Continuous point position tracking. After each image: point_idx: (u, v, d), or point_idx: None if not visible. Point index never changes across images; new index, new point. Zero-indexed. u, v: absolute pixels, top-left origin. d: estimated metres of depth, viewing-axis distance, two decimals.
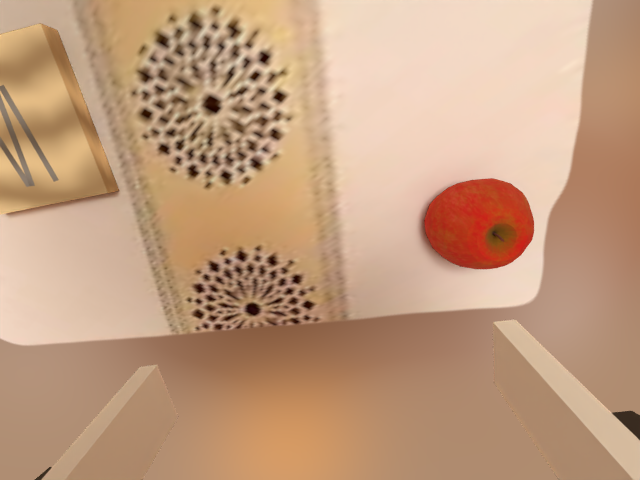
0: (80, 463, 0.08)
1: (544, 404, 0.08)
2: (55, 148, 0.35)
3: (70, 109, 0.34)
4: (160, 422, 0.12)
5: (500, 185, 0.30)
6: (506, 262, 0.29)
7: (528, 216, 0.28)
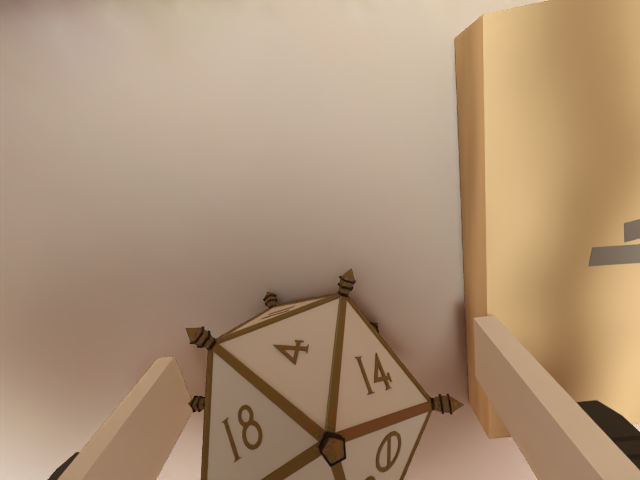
0: (107, 447, 0.09)
1: (516, 394, 0.09)
2: None
3: None
4: (178, 412, 0.12)
5: None
6: None
7: None
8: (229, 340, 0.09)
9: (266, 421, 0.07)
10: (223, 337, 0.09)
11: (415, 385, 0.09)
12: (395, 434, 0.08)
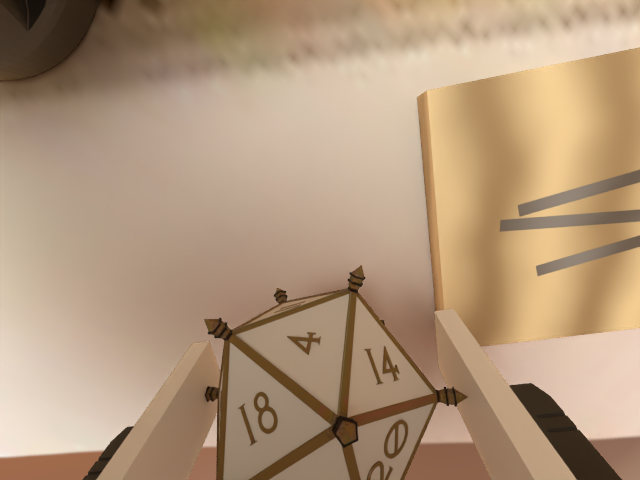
0: (161, 420, 0.09)
1: (463, 379, 0.10)
2: None
3: (597, 65, 0.15)
4: None
5: None
6: None
7: None
8: (245, 331, 0.09)
9: (280, 407, 0.08)
10: (239, 328, 0.09)
11: (421, 378, 0.10)
12: (403, 423, 0.09)
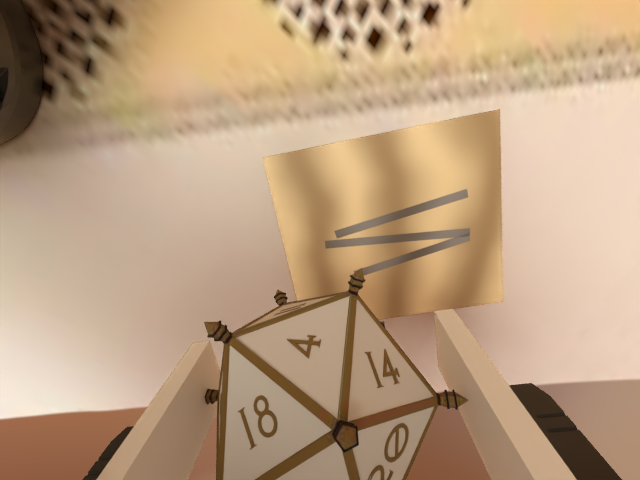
0: (161, 420, 0.09)
1: (463, 379, 0.10)
2: (420, 181, 0.24)
3: (368, 141, 0.23)
4: None
5: None
6: None
7: None
8: (244, 334, 0.09)
9: (281, 411, 0.08)
10: (239, 331, 0.09)
11: (422, 381, 0.10)
12: (403, 426, 0.09)
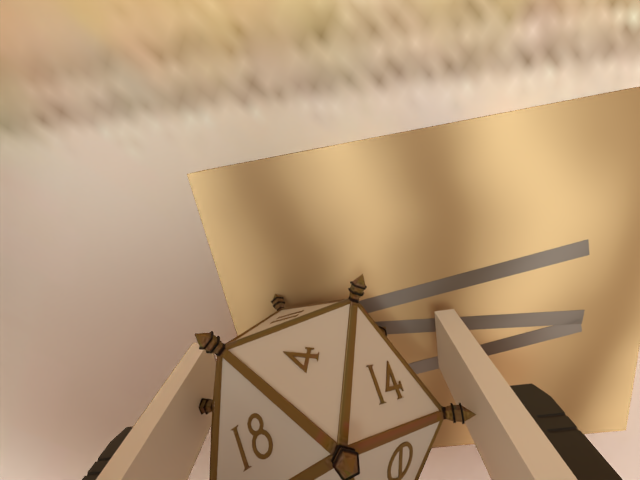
0: (160, 420, 0.09)
1: (463, 379, 0.10)
2: (498, 223, 0.12)
3: (399, 145, 0.11)
4: None
5: None
6: None
7: None
8: (238, 346, 0.09)
9: (276, 431, 0.07)
10: (232, 342, 0.09)
11: (426, 394, 0.09)
12: (407, 444, 0.08)
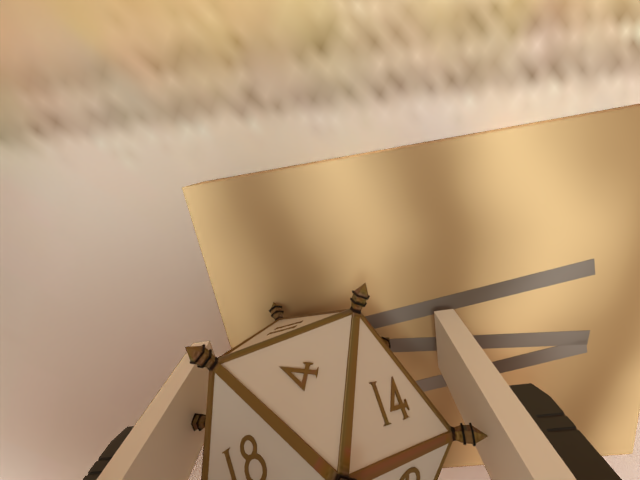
0: (161, 420, 0.09)
1: (463, 379, 0.10)
2: (501, 241, 0.12)
3: (399, 160, 0.11)
4: None
5: None
6: None
7: None
8: (232, 360, 0.08)
9: (271, 455, 0.07)
10: (225, 356, 0.08)
11: (434, 413, 0.08)
12: (414, 469, 0.07)
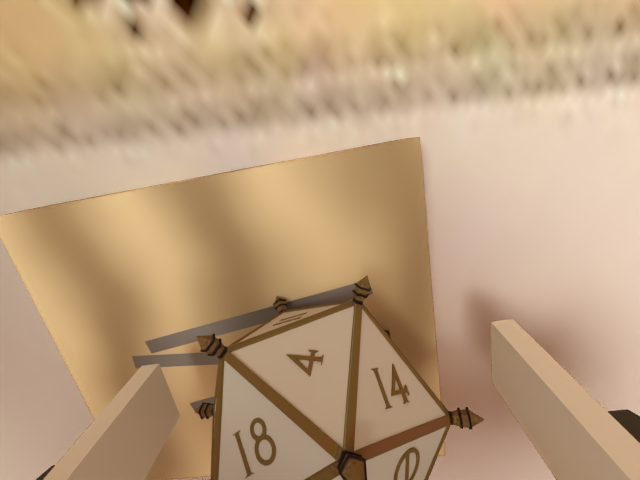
0: (83, 461, 0.08)
1: (540, 403, 0.08)
2: (283, 264, 0.13)
3: (177, 193, 0.12)
4: (162, 421, 0.12)
5: None
6: None
7: None
8: (240, 348, 0.09)
9: (280, 436, 0.07)
10: (234, 345, 0.09)
11: (432, 398, 0.09)
12: (413, 450, 0.08)
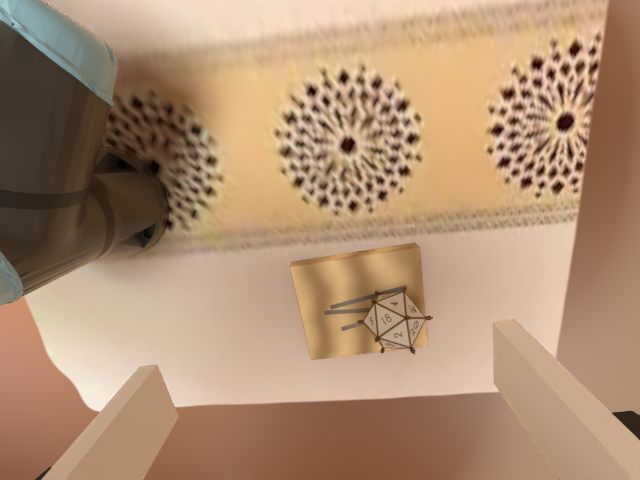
0: (80, 463, 0.08)
1: (543, 404, 0.08)
2: (378, 281, 0.43)
3: (349, 260, 0.42)
4: (160, 422, 0.12)
5: None
6: None
7: None
8: (378, 301, 0.39)
9: (391, 316, 0.37)
10: (377, 301, 0.39)
11: (421, 313, 0.39)
12: (417, 321, 0.38)
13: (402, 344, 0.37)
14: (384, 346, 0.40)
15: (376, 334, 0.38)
